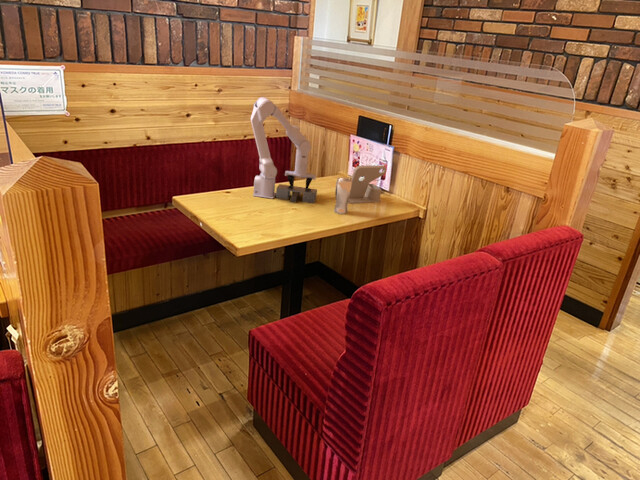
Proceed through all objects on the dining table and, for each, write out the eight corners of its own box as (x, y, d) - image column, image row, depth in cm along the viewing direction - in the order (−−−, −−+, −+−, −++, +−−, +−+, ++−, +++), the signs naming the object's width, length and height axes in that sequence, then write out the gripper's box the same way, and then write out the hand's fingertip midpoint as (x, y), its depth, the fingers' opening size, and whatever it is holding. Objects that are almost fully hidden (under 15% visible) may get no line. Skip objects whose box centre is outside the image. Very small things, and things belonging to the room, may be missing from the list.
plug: (288, 202, 226) (289, 194, 224) (293, 193, 238) (293, 186, 237) (297, 203, 225) (297, 196, 224) (301, 194, 238) (301, 187, 237)
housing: (275, 198, 229) (276, 187, 227) (278, 194, 235) (279, 184, 233) (314, 203, 227) (315, 193, 225) (316, 199, 233) (317, 189, 231)
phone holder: (372, 195, 247) (377, 160, 240) (382, 202, 239) (387, 166, 232) (340, 196, 240) (345, 160, 233) (350, 203, 232) (354, 166, 225)
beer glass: (348, 210, 224) (352, 178, 218) (348, 215, 217) (352, 182, 211) (333, 208, 224) (337, 176, 218) (332, 213, 218) (336, 180, 212)
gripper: (284, 164, 228) (282, 192, 233) (315, 168, 227) (312, 196, 232) (287, 160, 234) (285, 188, 240) (317, 164, 233) (314, 192, 238)
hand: (299, 191), depth 236 cm, fingers open, 6 cm apart
